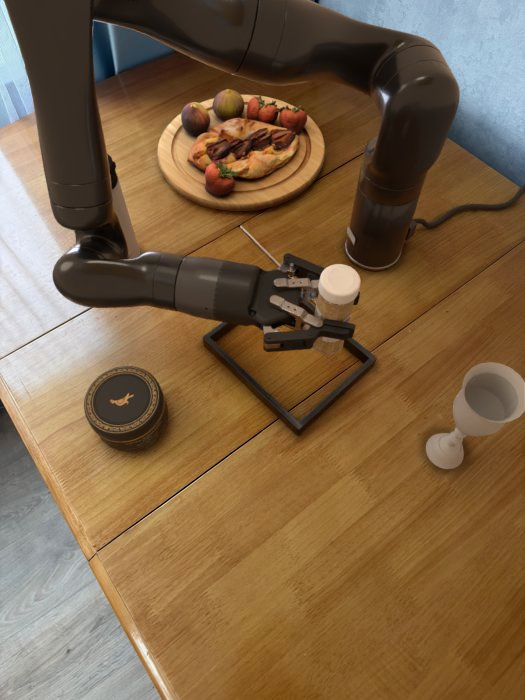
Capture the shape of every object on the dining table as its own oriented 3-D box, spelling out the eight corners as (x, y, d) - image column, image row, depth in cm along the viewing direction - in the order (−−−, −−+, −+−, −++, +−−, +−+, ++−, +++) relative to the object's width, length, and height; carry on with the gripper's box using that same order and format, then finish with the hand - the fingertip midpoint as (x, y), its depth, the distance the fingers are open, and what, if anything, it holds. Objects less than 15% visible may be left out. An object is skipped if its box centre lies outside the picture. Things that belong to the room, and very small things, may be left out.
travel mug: (136, 277, 86) (105, 181, 69) (98, 271, 87) (58, 174, 70) (148, 249, 90) (121, 150, 72) (111, 243, 90) (75, 144, 73)
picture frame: (279, 287, 85) (280, 278, 83) (374, 366, 78) (377, 358, 76) (203, 345, 80) (202, 336, 78) (297, 436, 72) (298, 429, 70)
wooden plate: (269, 240, 91) (270, 204, 83) (124, 173, 99) (113, 135, 92) (353, 137, 104) (359, 98, 97) (219, 86, 113) (216, 47, 106)
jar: (185, 422, 73) (177, 398, 67) (127, 472, 70) (113, 451, 63) (141, 377, 77) (130, 350, 70) (83, 421, 73) (66, 397, 67)
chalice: (436, 416, 74) (482, 350, 58) (480, 446, 72) (540, 385, 56) (408, 455, 71) (449, 397, 55) (453, 487, 69) (509, 436, 53)
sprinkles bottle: (334, 362, 69) (350, 301, 57) (303, 347, 70) (313, 284, 58) (349, 336, 71) (367, 272, 59) (318, 321, 72) (331, 256, 60)
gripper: (200, 320, 58) (354, 348, 57) (231, 226, 66) (368, 249, 64) (206, 354, 65) (344, 380, 63) (233, 266, 72) (358, 287, 70)
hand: (355, 314), depth 64 cm, fingers closed on sprinkles bottle, 4 cm apart
